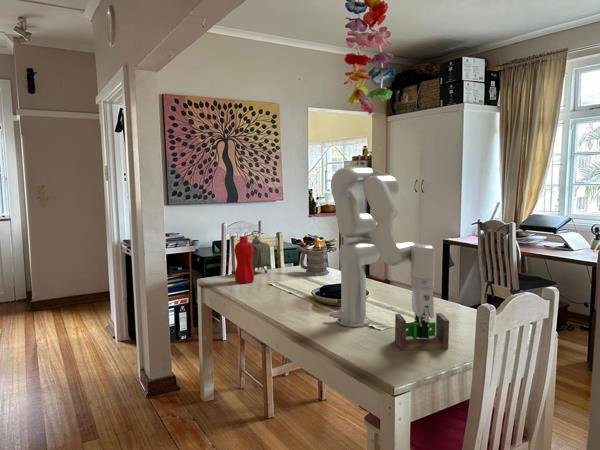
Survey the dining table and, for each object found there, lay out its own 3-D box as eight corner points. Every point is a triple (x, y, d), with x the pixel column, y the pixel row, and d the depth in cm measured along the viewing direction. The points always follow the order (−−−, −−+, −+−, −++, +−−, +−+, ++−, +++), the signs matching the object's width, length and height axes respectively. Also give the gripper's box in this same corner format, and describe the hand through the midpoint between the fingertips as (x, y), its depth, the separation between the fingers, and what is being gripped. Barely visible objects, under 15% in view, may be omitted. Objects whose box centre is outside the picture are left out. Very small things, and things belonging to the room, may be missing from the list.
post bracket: (400, 349, 146) (401, 321, 145) (394, 340, 154) (395, 313, 153) (448, 348, 147) (449, 320, 146) (440, 339, 155) (441, 313, 154)
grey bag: (270, 272, 264) (269, 231, 261) (259, 275, 257) (258, 232, 254) (253, 269, 273) (252, 229, 270) (242, 272, 266) (241, 230, 264)
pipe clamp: (405, 339, 148) (405, 326, 148) (401, 335, 152) (402, 322, 151) (438, 338, 149) (438, 325, 148) (434, 334, 153) (434, 321, 152)
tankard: (331, 272, 263) (331, 247, 262) (321, 276, 253) (321, 250, 251) (303, 269, 274) (302, 244, 272) (291, 273, 263) (291, 247, 262)
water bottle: (243, 285, 235) (242, 238, 232) (232, 281, 243) (231, 236, 240) (258, 282, 240) (257, 236, 238) (247, 279, 249) (246, 234, 246)
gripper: (441, 288, 140) (440, 344, 142) (425, 276, 157) (424, 326, 159) (418, 288, 140) (416, 344, 142) (404, 276, 156) (403, 327, 158)
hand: (421, 334), depth 150 cm, fingers closed on pipe clamp, 3 cm apart
